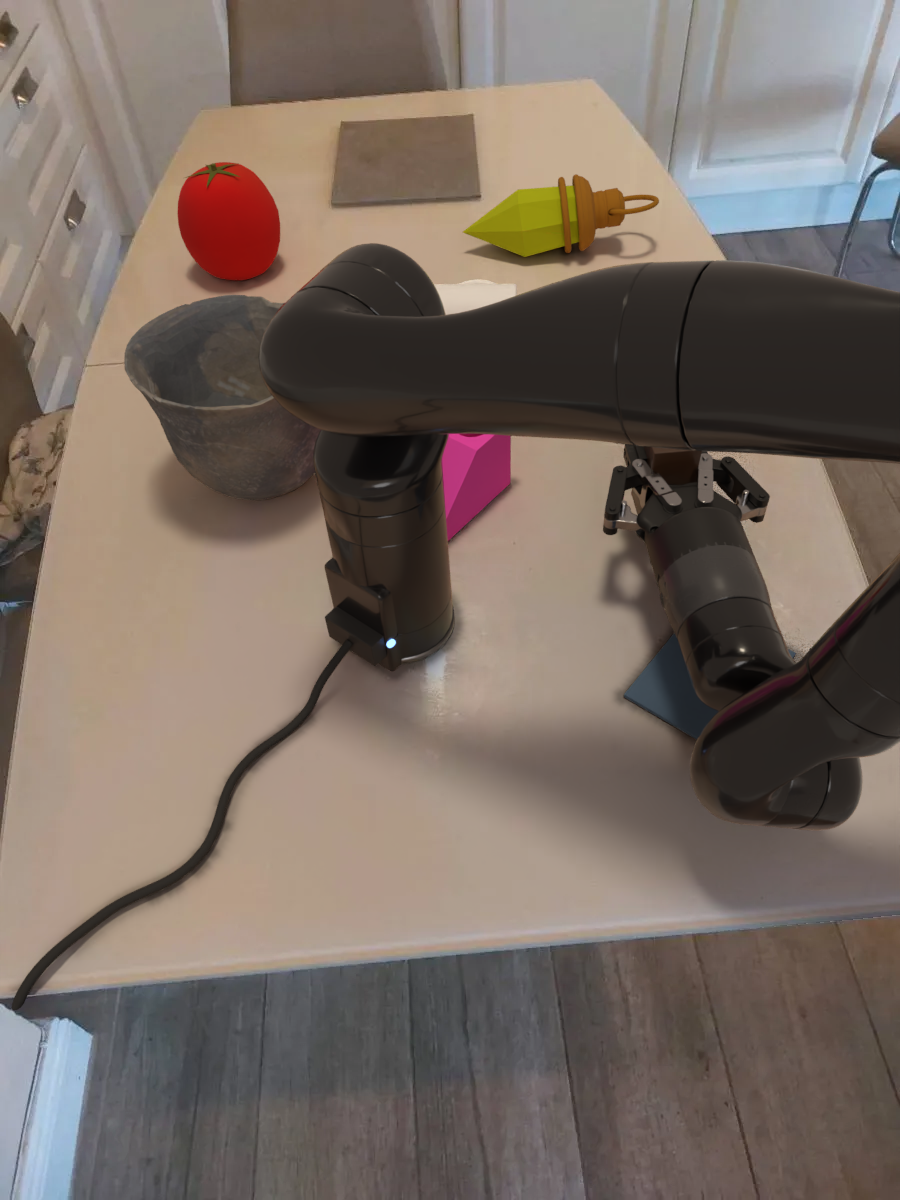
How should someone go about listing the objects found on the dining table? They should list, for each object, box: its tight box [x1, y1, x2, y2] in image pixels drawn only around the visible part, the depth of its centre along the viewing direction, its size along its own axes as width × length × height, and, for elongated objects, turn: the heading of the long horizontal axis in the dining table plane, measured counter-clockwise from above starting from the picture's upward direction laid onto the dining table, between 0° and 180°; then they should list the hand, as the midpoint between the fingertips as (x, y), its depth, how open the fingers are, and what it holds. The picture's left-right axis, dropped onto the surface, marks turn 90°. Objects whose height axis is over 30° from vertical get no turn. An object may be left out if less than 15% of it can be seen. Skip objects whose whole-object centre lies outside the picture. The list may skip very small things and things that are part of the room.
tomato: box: [176, 161, 281, 281], centre depth 114 cm, size 13×11×14 cm
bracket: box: [442, 434, 512, 542], centre depth 86 cm, size 12×10×10 cm
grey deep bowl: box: [123, 294, 320, 501], centre depth 87 cm, size 18×18×15 cm
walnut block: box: [630, 447, 702, 516], centre depth 80 cm, size 5×4×9 cm
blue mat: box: [623, 632, 797, 741], centre depth 74 cm, size 12×9×1 cm
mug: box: [433, 278, 518, 315], centre depth 103 cm, size 12×10×8 cm
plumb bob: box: [462, 173, 660, 258], centre depth 116 cm, size 9×9×25 cm
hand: (659, 439), depth 80 cm, fingers closed on walnut block, 4 cm apart
